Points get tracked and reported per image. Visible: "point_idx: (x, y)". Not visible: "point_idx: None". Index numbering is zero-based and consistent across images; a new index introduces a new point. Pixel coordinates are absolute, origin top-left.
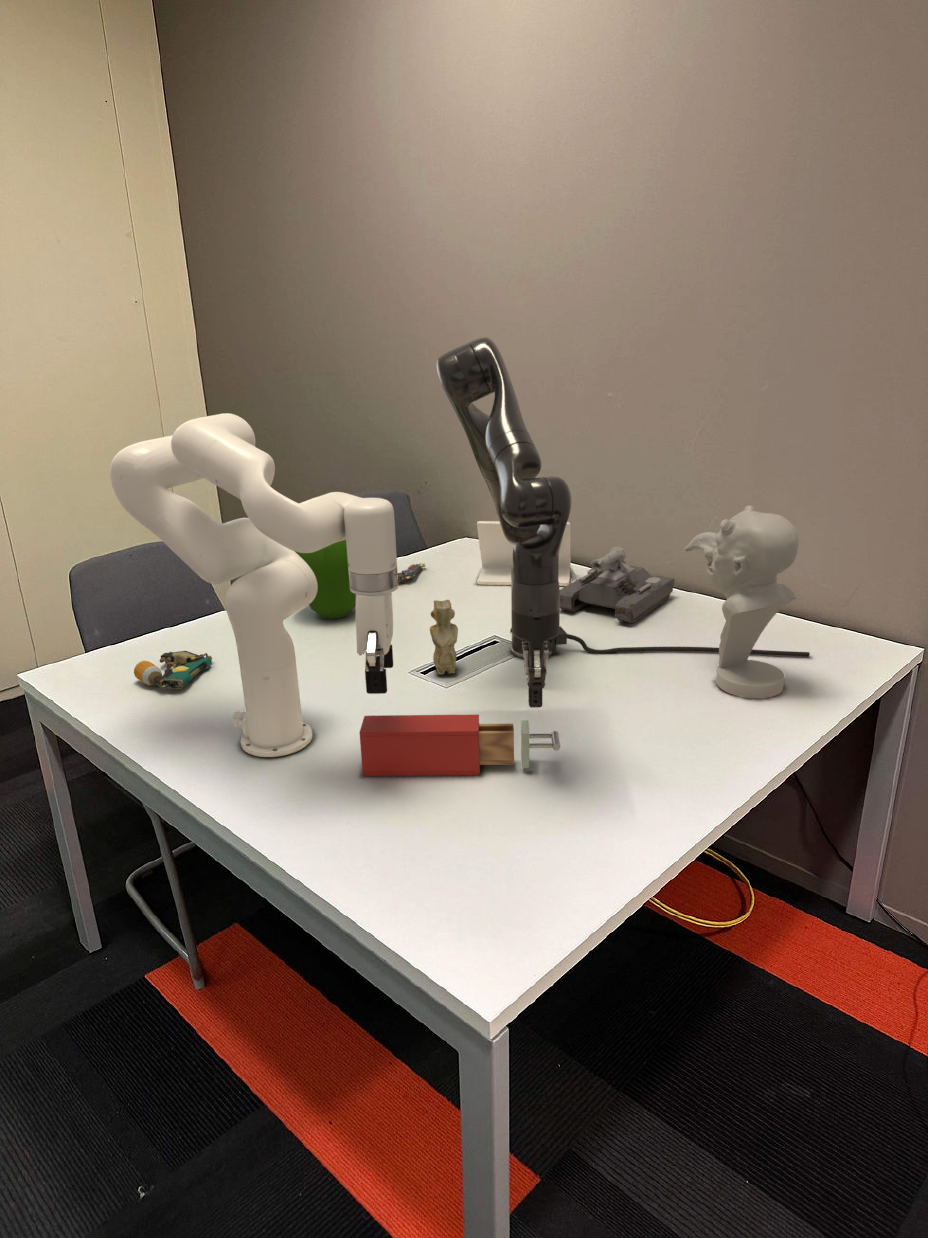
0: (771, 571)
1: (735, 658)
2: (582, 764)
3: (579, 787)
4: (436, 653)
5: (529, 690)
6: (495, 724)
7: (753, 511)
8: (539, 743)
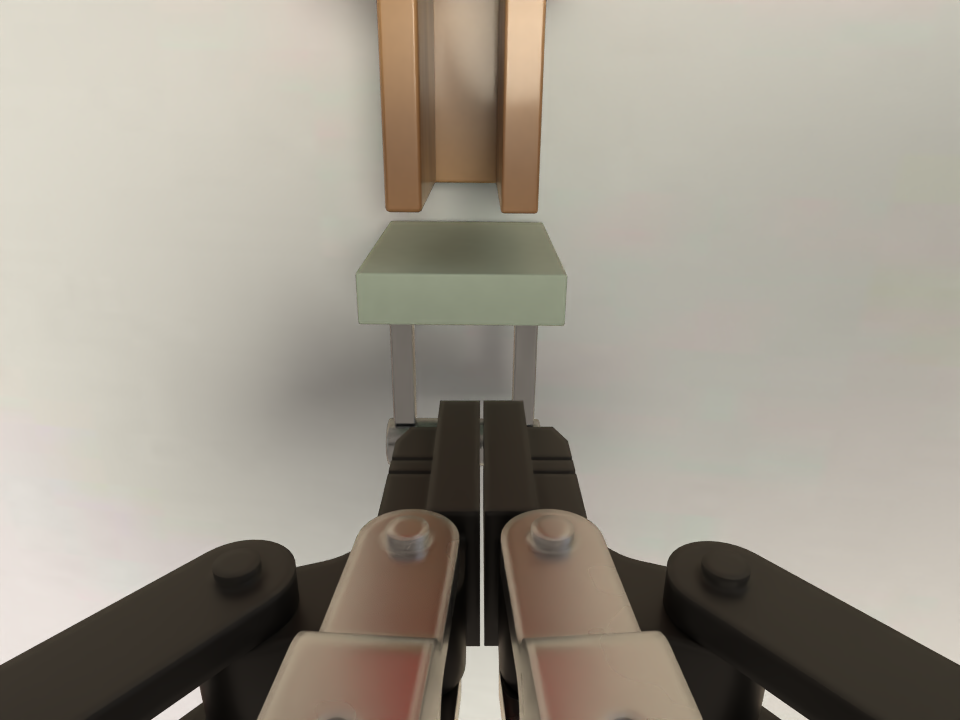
0: None
1: None
2: None
3: (281, 460)
4: None
5: (429, 492)
6: (526, 63)
7: None
8: (408, 357)
